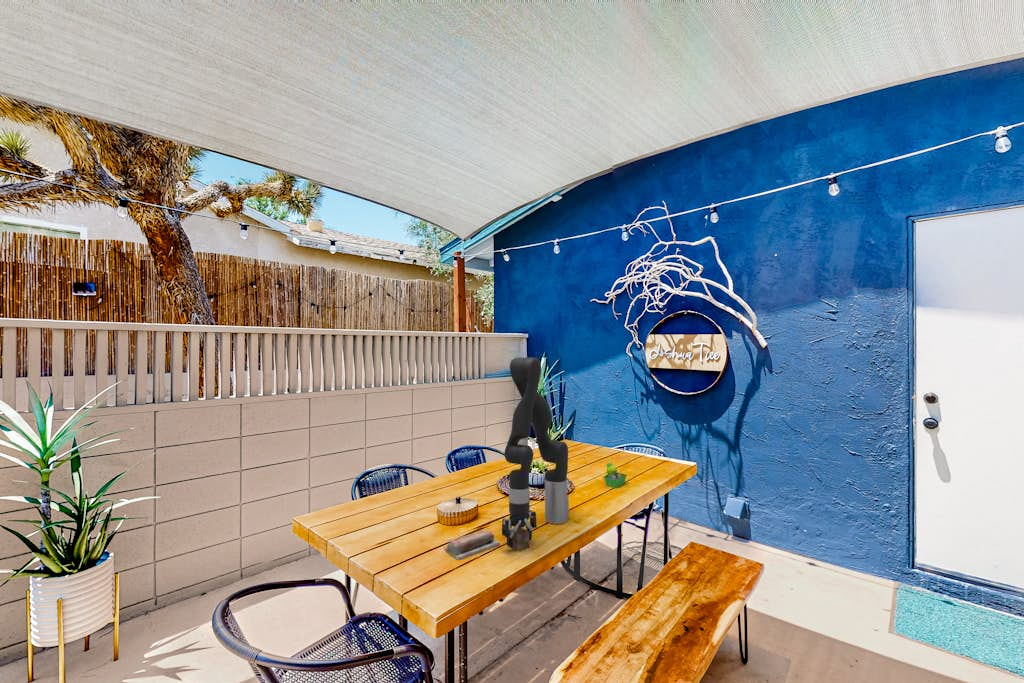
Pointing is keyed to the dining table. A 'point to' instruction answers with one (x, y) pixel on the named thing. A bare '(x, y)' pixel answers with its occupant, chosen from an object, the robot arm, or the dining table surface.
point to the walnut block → (520, 539)
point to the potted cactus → (614, 477)
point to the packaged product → (471, 544)
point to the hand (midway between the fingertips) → (519, 543)
